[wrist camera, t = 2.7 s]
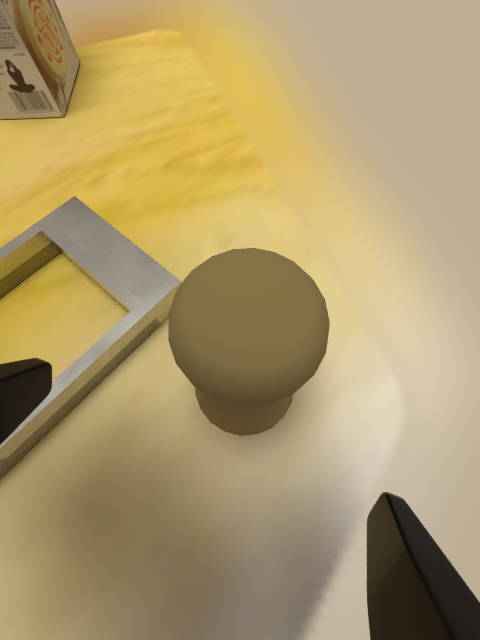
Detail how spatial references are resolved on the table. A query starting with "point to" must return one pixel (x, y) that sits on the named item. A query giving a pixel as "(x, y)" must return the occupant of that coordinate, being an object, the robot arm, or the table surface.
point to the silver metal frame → (108, 273)
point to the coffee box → (34, 60)
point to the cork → (248, 336)
